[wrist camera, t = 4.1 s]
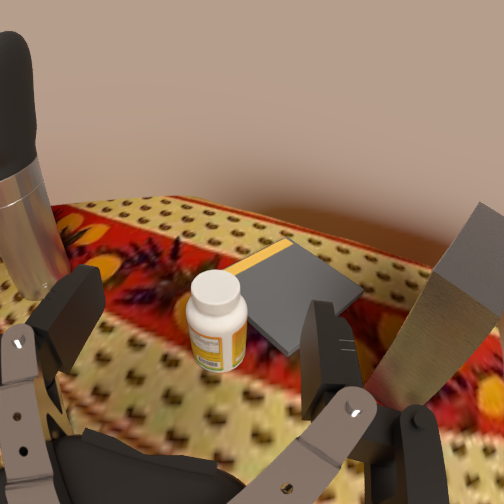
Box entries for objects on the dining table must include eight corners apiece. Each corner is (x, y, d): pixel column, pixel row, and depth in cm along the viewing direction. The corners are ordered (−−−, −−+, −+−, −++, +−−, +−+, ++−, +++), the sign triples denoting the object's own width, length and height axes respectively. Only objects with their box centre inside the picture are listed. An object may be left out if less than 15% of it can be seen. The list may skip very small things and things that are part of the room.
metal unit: (359, 385, 28) (428, 267, 18) (428, 299, 38) (476, 200, 28) (409, 424, 24) (507, 323, 14) (466, 326, 34) (524, 230, 24)
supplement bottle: (234, 326, 34) (235, 257, 28) (253, 365, 30) (259, 300, 24) (187, 338, 32) (175, 270, 26) (201, 380, 29) (191, 318, 22)
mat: (207, 283, 39) (207, 276, 38) (285, 242, 47) (286, 236, 46) (287, 357, 31) (288, 351, 30) (362, 294, 39) (364, 288, 38)
